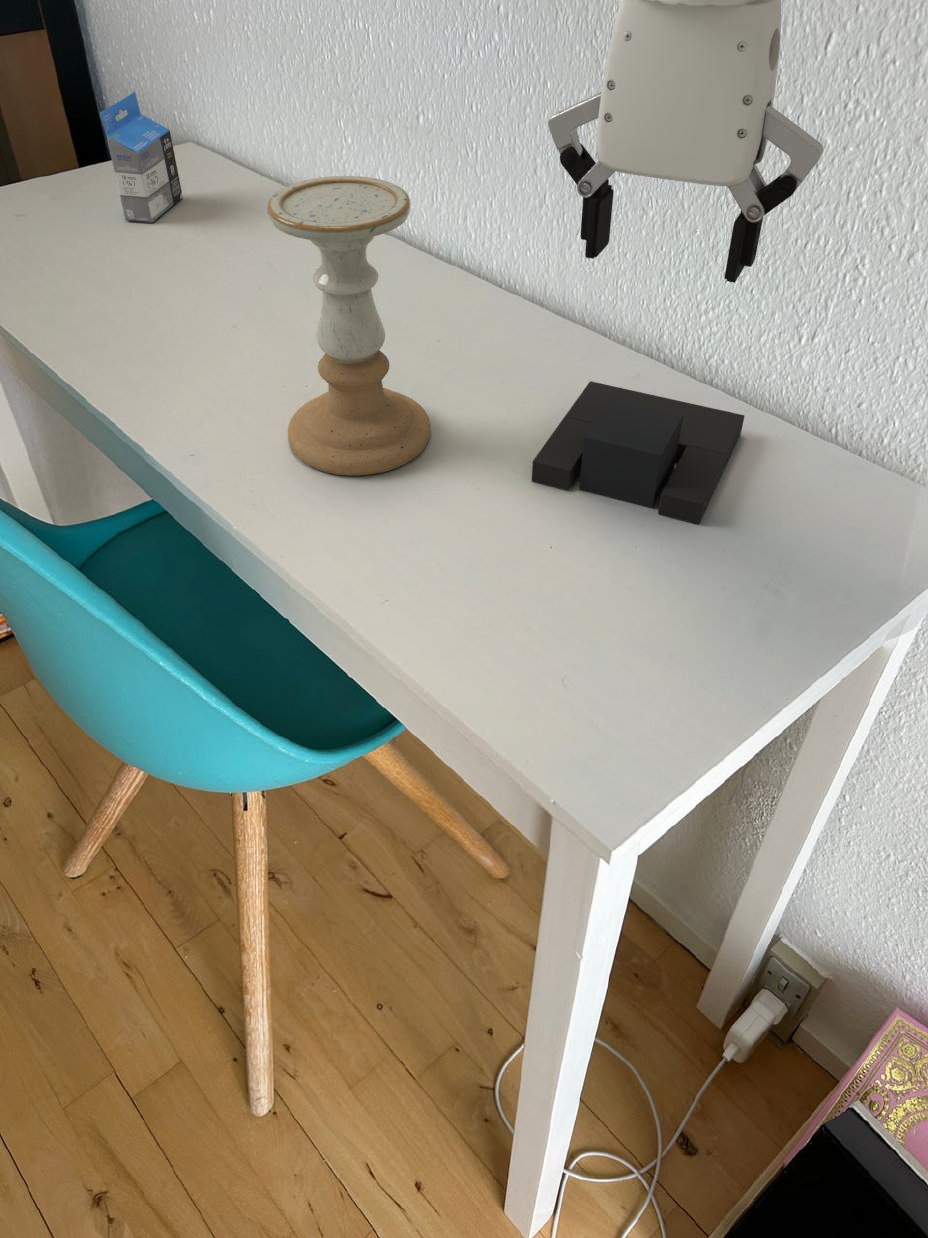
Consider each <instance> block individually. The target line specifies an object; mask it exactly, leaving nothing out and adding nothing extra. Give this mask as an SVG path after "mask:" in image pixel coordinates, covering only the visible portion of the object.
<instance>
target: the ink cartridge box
mask: <svg viewBox="0 0 928 1238" xmlns="http://www.w3.org/2000/svg"><path fill="white" fill-rule="evenodd" d="M139 106H140V105H139V101H138V98H137V94H136V92H135V91H133V92H132V93H130V94H129V95H127V96H126V97H124V98H122V99H120V100H118V101H117V102H115V103H113V104H112V105H110V106H108V107H107V108H105V109H104V110H102V111H100V112H99V116H100V120H101V123H102V126H103V129H104V133H105V136H106V137H105V138H106V140H107V145H108V150H109V154H110V157H111V162H112V163H111V164H112V167H113V171H114V177H115V180H116V184H117V189H118V193H119V198H120V203H121V207H122V212H123V215H124V220H125V221H128V222H138V223H147V224H152V223H154V222H155V221H156V220H157V219H159V218H160V217H161V216H162V215H164V214H165V213H166V212H167V211H168V210H170V209H171V208H172V207H173V206H174V205H175V204H177V203H178V202H179V201H181V200H182V199H183V198H184V196H183V190H182V186H181V181H180V176H179V170H178V166H177V161H176V154H175V150H174V145H173V140H172V135H171V134H172V133H171V130H170V129H169V128H167V127H166V126H163V125H161V124H160V123H159V122H156V121H154V120H153V119H151V118H148V117H147V116H146V115H143V114H142V112H141V110H140V107H139ZM120 111H122V112H125V111H126V112H127V113H126V115H125V116H123V117H122V118H120V119H118V120H117V116H119V115H120Z"/></svg>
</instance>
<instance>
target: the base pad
mask: <svg viewBox="0 0 928 1238" xmlns="http://www.w3.org/2000/svg"><path fill="white" fill-rule="evenodd" d="M609 399H611V400H616V401H620V402H624V403H629V404H633V405H638V406H642V407H646V408H651V409H655V410H660V411H664V412H668V413H673V414H677V415H682V416H683V420H682V426H681V432H680V438H679V443H678V449H677V455H676V460H675V466H674V469H673V471H672V473H671V475H670V476H669V478H668V480H667V482H666V484H665V486H664V488H663V490H662V492H661V493H660V499H659V506H658V515H660V516H665V517H668V518H672V519H675V520H680V521H684V522H686V523H687V522H688V523H692V524H695V525H699V524H701V521H702V519H703V517H704V514H705V513H706V510H707V509H708V506H709V504H710V502H711V500H712V497H713V495H714V493H715V491H716V490H717V486H718V484H719V482H720V480H721V478H722V476H723V473H724V472H725V470H726V467H727V465H728V463H729V461H730V458H731V457H732V454H733V452H734V450H735V449H736V446H737V443H738V442H739V439H740V437H741V434H742V431H743V426H744V421H745V415H744V414H740V413H736V412H731V411H726V410H723V409H718V408H713V407H709V406H704V405H701V404H695V403H692V402H691V403H690V402H686V401H681V400H677V399H673V398H669V397H664V396H659V395H654V394H651V393H647V392H641V391H637V390H633V389H628V388H623V387H619V386H615V385H610V384H605V383H602V382H601V383H600V382H596V381H591V380H590V381H589V382H588V384H587V385H586V386H585V387H584V389H583V391H582V392H581V393H580V395H579V396H578V397H577V399H576V400H575V402H573V404H572V405H571V407H570V408H569V410H568V411H567V413H566V414H565V415H564V417H563V418H562V419H561V421H560V422H559V423H558V425H557V427H556V428H555V429H554V430H553V432H552V434H551V435H550V436H549V438H548V439H547V441H546V442H545V443H544V445H543V446H542V448H540V450H539V452H538V453H537V454H536V456H535V457H534V459H533V460H532V466H531V467H532V468H531V482H533V483H537V484H540V485H541V484H542V485H546V486H549V487H553V488H557V489H560V490H564V491H570V490H571V488H572V487H573V485H574V484H575V482H576V480H578V478H579V477H580V475H581V465H582V455H583V444H584V437H585V435H586V434H587V432H588V431H589V429H590V428H591V426H592V425H593V423H594V422H595V420H596V419H597V417H598V416H599V414H600V413H601V411H602V410H603V408H604V407H605V405H606V404H607V402H608V401H609Z"/></svg>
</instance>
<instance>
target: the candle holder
mask: <svg viewBox="0 0 928 1238" xmlns="http://www.w3.org/2000/svg"><path fill="white" fill-rule="evenodd" d="M411 205H412V204H411V199H410V196H409V194H408V193H407V191H406V190H404V189H403V188H402V187H401V186H399V185H396V184H395V183H394V182H393V183H392V182H390V181H387V180H383V179H380V178H374V177H368V176H360V175H334V176H322V177H316V178H309V179H305V180H301V181H298V182H295V183H292V184H289V185H287V186H285V187H283V188H281V189H279V190H278V191H277V192H275V193H274V194H273V195H272V196H271V197H270V198H269V200H268V201H267V216H268V219H269V220H270V222H271V224H272V226H273V227H275V229H277V230H278V231H280V232H282V233H283V234H285V235H288V236H290V237H291V236H292V237H294V238H298V239H303V240H307V241H310V242H311V244H313V245H314V246H315V247H317V248H318V251H319V253H320V257H321V262H320V265H319V267H318V268H317V269H316V270H315V271H314V272H313V275H312V282H313V284H314V287H316V288H317V289H318V290H319V291H321V292H322V293H321V295H322V297H321V309H320V316H319V320H318V325H317V330H316V343H317V344H318V347H319V348H320V350H321V351H322V352H323V353H324V355H323V356H321V358H320V359H319V361H318V364H317V372H318V374H319V376H320V378H321V379H322V380H324V381H325V382H326V383H327V385H328V386H327V388H328V389H327V391H326V392H324V393H322V394H320V395H318V396H317V397H314V398H311V399H310V400H309V401H307V402H306V403H304V404H303V405H302V406H301V407H299V408H298V409H297V410H296V411H295V413H294V414H293V415H292V417H291V418H290V419H289V423H288V426H287V441H288V444H289V447H290V449H291V451H292V452H293V454H294V456H295V457H297V458H298V459H299V460H300V461H301V462H302V463H304V464H305V465H306V466H309V467H310V468H313V469H315V470H318V471H321V472H323V473H324V472H325V473H328V474H333V475H340V476H367V475H368V476H369V475H377V474H380V473H386V472H388V471H391V470H395V469H397V468H399V467H402V466H404V465H406V464H408V463H409V462H411V461H413V460H414V459H416V458H417V457H418V456H419V455H420V454H421V453H422V452H423V451H424V450H425V448H426V447H427V445H428V443H429V440H430V438H431V437H430V436H431V423H430V422H431V421H430V418H429V415H428V414H427V412H426V410H425V408H424V407H423V406H422V405H421V404H420V403H418V402H417V401H416V400H415V399H413V398H411V397H409V396H407V395H405V394H403V393H400V392H397V391H394V390H391V389H388V388H386V387H384V386H383V379H384V378H385V376H387V374H388V373H389V370H390V361H389V359H388V357H387V355H385V353H384V352H382V351H381V349H382V347H383V345H384V343H385V340H386V331H385V327H384V324H383V322H382V319H381V316H380V314H379V312H378V309H377V306H376V303H375V299H374V296H373V295H374V294H373V290H372V288H374V287H375V286H376V285H377V283H378V281H379V278H380V277H379V272H378V270H377V269H376V268H375V267H374V266H373V265H372V264H371V263H369V261H368V258H367V249H368V246H369V244H370V243H371V242H372V241H373V240H374V239H375V237H377V236H381V235H383V234H386V233H388V232H391V231H393V230H396V229H397V228H399V227H400V226H402V224H404V223H405V222H406V221H407V220H408V218H409V215H410V213H411V207H412V206H411Z"/></svg>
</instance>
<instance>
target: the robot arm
mask: <svg viewBox="0 0 928 1238" xmlns="http://www.w3.org/2000/svg"><path fill="white" fill-rule="evenodd" d="M618 4H619V5H618V8H617V11H616V16H615V19H614V25H613V29H612V33H611V37H610V41H609V42H610V43H609V47H608V51H607V52H608V53H607V58H606V62H605V68H604V74H603V81H602V88H601V91H600V92H598V93H596V94H593V95H592V96H590V97H587V98H585V99H583V100H581V101H579V102H576V103H574V104H573V105H570V106H569V107H566V108H564V109H562V110H560V111H558V112H557V113H555V114H553V115H552V116H551V117H550V118H549V119H548V122H547V125H548V129H549V132H550V135H551V137H552V140H553V142H554V145H555V147H556V150H557V151H558V154H559V162H560V164H561V165H562V167H563V168H564V170H565V171H566V173H567V174H568V175H569V176H570V178H571V179H572V181H573V182H574V183H575V184H576V191H577V193H578V195H579V196H580V197H582V207H581V222H580V239H581V240H583V241H585V250H584V251H585V252H584V257H585V258H586V259H590V260H591V259H592V260H594V259H595V258H597V257H598V256H599V255H600V254H601V253H602V252H603V251H604V250H605V248H606V247H607V246H608V245H609V243H610V239H611V237H610V235H611V225H612V214H613V204H614V203H613V202H614V194H615V193H614V192H615V191H614V189H613V185H612V184H609V183H610V180H609V179H610V178H611V176H613V174H614V173H615V172H617V173H622V174H625V175H626V174H627V175H633V176H640V177H647V178H653V179H660V180H667V181H668V180H669V181H675V182H682V183H690V184H696V185H697V184H698V185H705V186H714V187H727V188H728V190H729V192H730V193H731V195H732V197H733V199H734V201H735V202H736V204H737V206H738V207H739V209H740V213H739V214H738V216H737V217H736V219H735V220H734V222H733V225H732V232H731V236H730V243H729V249H728V253H727V259H726V260H727V261H726V265H725V271H724V276H723V279H724V280H726V282H727V283H728V282H729V283H736V282H737V280H738V278H739V277H740V275H741V273H742V272H743V270H744V269H745V267H749V268H751V267H752V266H753V264H754V263H755V260H756V256H757V251H758V246H759V243H760V242H759V241H760V237H761V232H762V227H763V226H762V225H763V221H764V216H766V215H767V214H768V213H771V212H772V211H773V210H774V209H775V208H777V207H778V206H780V205H781V204H782V203H784V202H785V201H786V200H787V199H789V198H791V197H792V196H793V195H794V194H795V192H796V190H798V187H800V185H801V184H802V183H803V181H805V179H806V178H807V177H808V175H809V174H810V172H811V171H812V170H813V169H814V167H815V166H816V165H817V163H819V160H821V157H822V156H823V154H824V151H825V149H824V145H823V144H822V143H821V142H820V140H818V139H816V138H815V137H813V136H812V135H811V134H809V133H808V132H807V131H805V130H804V129H803V128H801V127H800V126H799V125H798V124H796V123H795V122H793V121H792V120H791V119H789V117H787V116H786V115H784V114H783V113H781V112H780V111H779V110H778V109H776V108H775V107H774V102H775V101H774V100H775V93H776V85H777V76H778V70H779V69H778V67H779V59H780V47H781V34H782V33H781V31H782V0H619V3H618ZM594 120H597V124H596V125H597V126H596V138H595V140H596V141H595V143H596V145H595V150H596V156H597V159H598V160H597V161H595V159H594V158H593V157H592V156H591V154H590V152H589V151H588V150H587V149H586V148H585V146H584V145H583V144H582V143H581V141H580V136H579V133H578V128H579V127H581V126H583V125H585V124H586V125H587V124H588V123H590V122H593V121H594ZM768 141H769V142H770V143H772V144H773V145H774V146H776V147H777V148H778V149H780V150H781V151H782V152H784V153H785V154H786V155H787V156H788V157H789V159H790V163H789V165H788V166H787V168H786V169H785V170H784V172H783V173H781V174H779V176H777V177H776V178H774V179H773V180H771V182H770V183H768V184H767V182H766V180H765V178H764V176H763V175H762V173H761V171H760V169H759V168H758V166H757V164H760V163H761V162H762V160H763V158H764V156H765V152H766V149H767V145H768Z"/></svg>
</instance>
